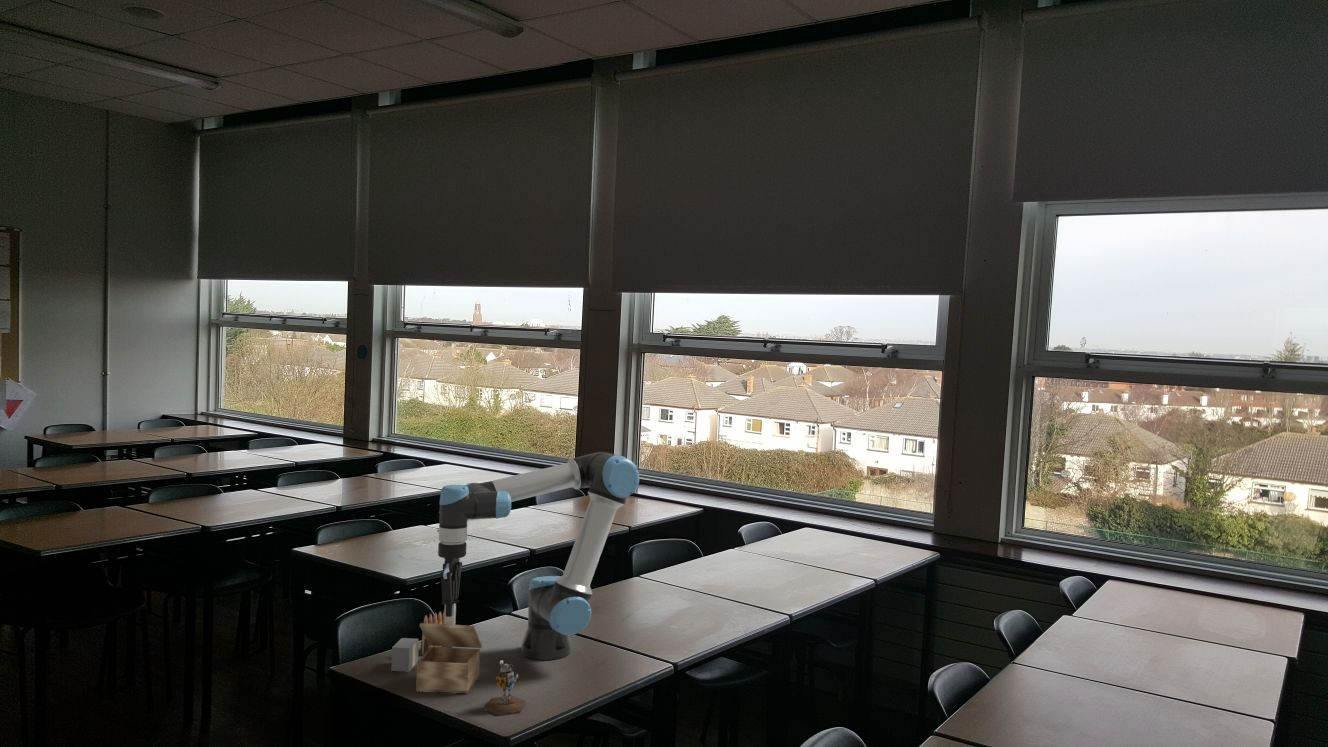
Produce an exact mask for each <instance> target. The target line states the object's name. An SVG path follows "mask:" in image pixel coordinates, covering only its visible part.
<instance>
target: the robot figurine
mask: <svg viewBox="0 0 1328 747" xmlns="http://www.w3.org/2000/svg"><path fill="white" fill-rule="evenodd" d="M513 667H514V665H513V664H511V663H509V664H508V663H504V660H500V661H499V665H498V669H500V670H499V672H497V676H495V680H496V683H497V688H499V689H503V695H502V696H498V697H497V696H496V697H491V698H490V699H489V700H488V702H487V703H486V704H485V705H484V710H485V709H486V710H487V711H486V710H485V711H486V712H489V711H490V712H489V713H492V714H493V713H494V714H493V715H495V716H498V717H500V716H509V715H514V714H520V713H521V712H522V710H523V709H524V708H525V706H527V701H526V700H524V699H522V698H520V697H517V696H514V695H511V690H512V689H513V688H514V685H515V683H516V681H517V679H518V678H519V674H518V673H515V671H513V670H512V669H513ZM507 691H508V695H507V693H506V692H507Z"/></svg>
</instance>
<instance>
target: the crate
mask: <svg viewBox="0 0 1328 747" xmlns="http://www.w3.org/2000/svg"><path fill="white" fill-rule="evenodd" d="M480 651H481V648H468V647H452V648H447V647H430V648H429V649H428V650H427V651H426V653H425V654H424V655H421V656H420V658H418V661H417V664H416V679H415V683H416V684H415V691H416V692H419V691H420V692H421V693H437V692H452V693H451V694H456V693H468V692H470V691H471V690H470V689H472V688H473V687H474V685H475V684H476V682H477V681H478V679H479V677H480V658H481V657H480V656H481V652H480ZM474 683H475V684H474ZM472 686H473V687H472ZM422 691H423V692H422ZM468 694H469V693H468Z"/></svg>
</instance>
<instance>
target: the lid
mask: <svg viewBox="0 0 1328 747" xmlns="http://www.w3.org/2000/svg"><path fill="white" fill-rule="evenodd" d="M419 627H420V630H421V631H422V635H423V634H424V636H425V638H426V640H427V642H428V644H429V645H430V646H448V647H452V648H467V649H482V646H483V645H482V643H481V641H480V637H479V635H478V632H477V630H476V628H475V625H468V624H467V625H464V624H463V625H461V624H455V625H447V624H427V623H424V622H420V623H419Z"/></svg>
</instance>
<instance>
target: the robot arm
mask: <svg viewBox="0 0 1328 747" xmlns="http://www.w3.org/2000/svg"><path fill="white" fill-rule="evenodd" d="M639 483H640V473H639V470H638V467H637V465H636V464H635V463H634V462H633V461H632V460H631V459H629V458H627V457H625V456H622V455H619V454H614V453H612V452H611V453H610V452H608V451H599V452H594V453H589V454H585V455H582V456H578V457H573V458H570V459H568V461H567V462H566V463H561V464H558V465H554V466H549V467H544V468H541V469H536V470H532V471H529V472H528V471H527V472H524V473H519V474H515V475H511V476H507V477H502V478H498V479H494V480H490V481H486V482H485V481H484V482H481V483H478V482H469V483H466V484H465V485H464V484H446V485H444V486H443V487H442V488H441V490H440V497H439V528H437V530H436V531H437V533H438V541H439V542H438V545H437V546H438V548H437V556H438V557H439V558H443V559H444V562H443V564H442V571H441V572H440V580H441V601H442V602H441V605H444V610H445V611H444V610H443V613H444V624H447V625H456V616H457V615H456V614H457V603H460V599H458V598H459V596H460V595H459V594H460V586H461V584H460V583H461V575H462V574H461V573H462V568H463V562H462V561H460V559H461V558H464V557H465V556H466V555H467V542H466V541H467V540H468V520H485V519H486V520H488V519H501V518H507V517H508V516H509V515H510V514H511V511H512V502H516V501H521V500H525V499H529V498H532V497H537V496H540V495H545V494H550V493H553V492H557V491H562V490H567V489H569V488H572V489H575V490H579V489H585V488H588V491H587V494H588V496H589V503H588V505H587V508H586V510H585V513H584V516H583V518H582V519H583V520H582V521H581V525H580V527H579V530H578V533H577V536H576V538H575V541H574V544H573V546H572V549H571V552H570V554H569V557H568V560H567V563H566V566H565V569H564V571H563V573H562V575H561V576H560V575H547V576H545V575H544V576H537V577H533V578H531V579H530V581H529V588H528V613H527V615H528V617H527V620H528V621H527V623H528V624H527V629H526V632H525V635H524V637H523V640H522V643H521V651H520V652H521V654H522V656H524V657H526V658H529V659H533V660H540V661H541V660H542V661H549V660H551V661H552V660H556V659H557V660H558V659H563V658H566V657H567V656H569V655H570V654H571V651H572V645H571V644H572V643H571V640H570V636H574V635H577V634H579V633H580V632H582V631H583V630H585V628H586V627H587V626H588V625H589V622H590V621H591V618H592V608H591V605H590V601H591V599H592V597H593V596H592V595H593V590H592V588H591V584H592V583H591V582H592V580H593V577H594V575H595V573H596V572H595V571H596V570H597V567H598V564H599V561H600V557H601V555H602V553H603V550H604V547H605V544H606V542H607V539H608V536H609V532H610V530H611V528H612V525H613V521H614V520H615V516H616V514H617V511H618V509H620V508H621V507H624V506H625V504H626V500H627V498H628V497H629V496H632V495H633V494H634V493H635V492H636V491H637V489H638V487H639Z"/></svg>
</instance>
